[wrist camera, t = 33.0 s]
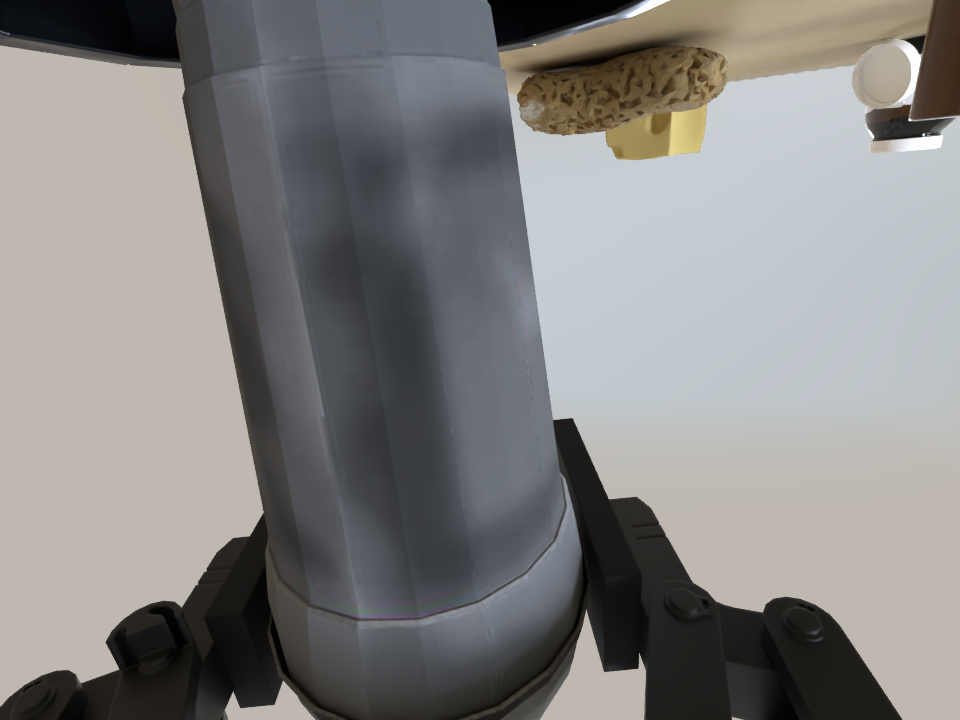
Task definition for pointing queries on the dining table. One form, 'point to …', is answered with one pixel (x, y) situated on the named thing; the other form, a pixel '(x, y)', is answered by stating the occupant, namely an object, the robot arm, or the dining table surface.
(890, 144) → the spread jar
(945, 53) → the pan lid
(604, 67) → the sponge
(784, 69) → the dining table surface
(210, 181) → the beverage cup
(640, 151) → the cheese
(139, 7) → the black round bowl
